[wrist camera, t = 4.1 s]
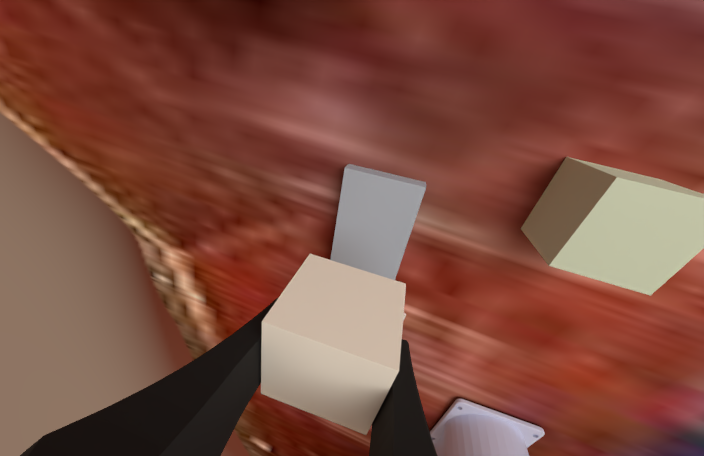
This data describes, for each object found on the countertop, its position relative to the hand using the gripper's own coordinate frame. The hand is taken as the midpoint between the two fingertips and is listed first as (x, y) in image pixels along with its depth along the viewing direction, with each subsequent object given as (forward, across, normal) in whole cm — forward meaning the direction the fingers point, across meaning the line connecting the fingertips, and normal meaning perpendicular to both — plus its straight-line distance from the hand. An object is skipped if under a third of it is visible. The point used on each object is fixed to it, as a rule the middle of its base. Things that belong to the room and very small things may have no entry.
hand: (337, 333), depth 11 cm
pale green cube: (+9, -11, -6) cm, 15 cm away
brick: (+2, 0, 0) cm, 2 cm away
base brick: (+9, 0, 0) cm, 9 cm away
